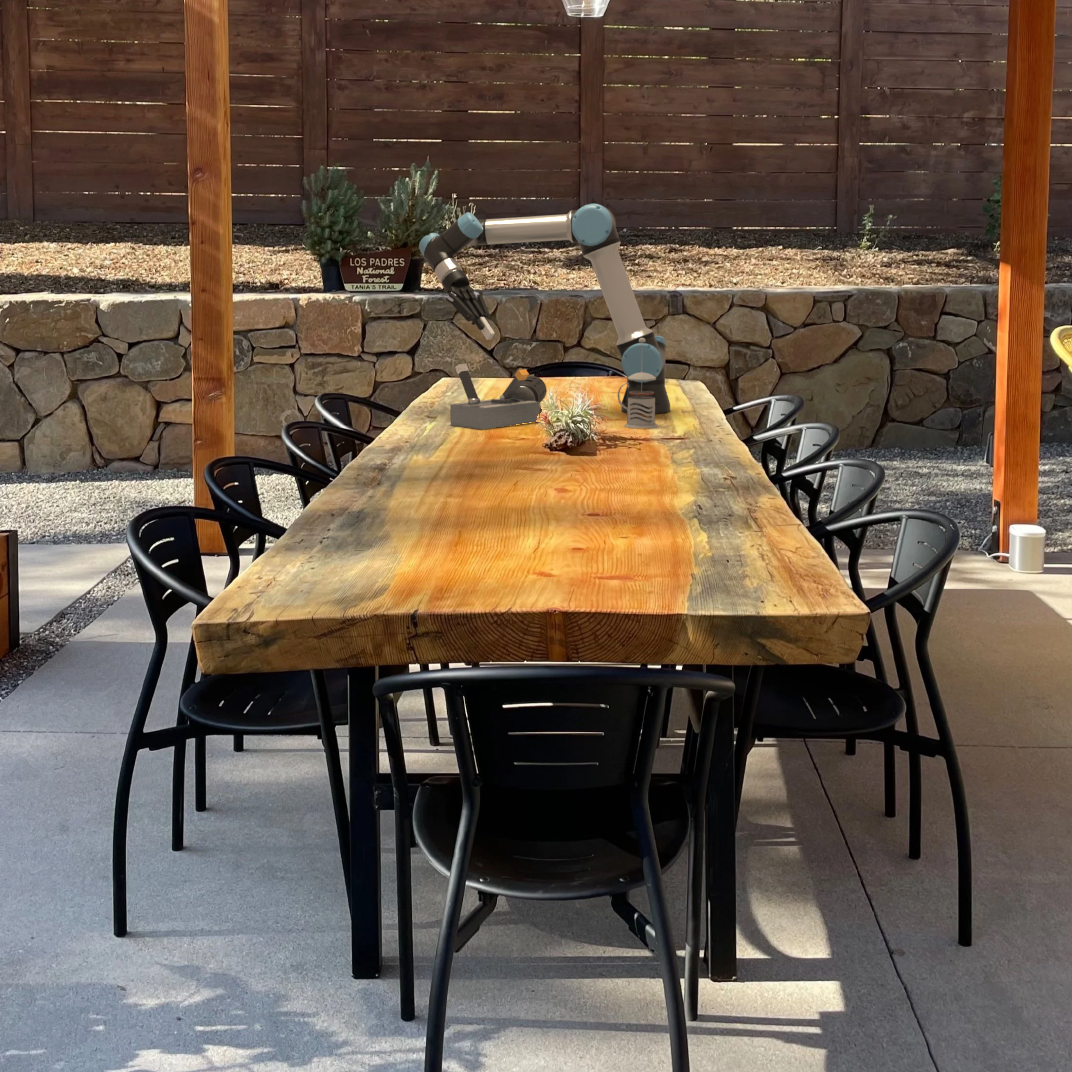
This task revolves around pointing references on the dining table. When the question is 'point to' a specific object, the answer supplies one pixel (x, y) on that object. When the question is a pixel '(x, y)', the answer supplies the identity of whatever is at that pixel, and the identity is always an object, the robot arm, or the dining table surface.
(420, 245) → the robot arm
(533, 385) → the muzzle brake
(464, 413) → the twin lever control box
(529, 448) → the dining table surface
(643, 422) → the french press
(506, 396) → the lever
